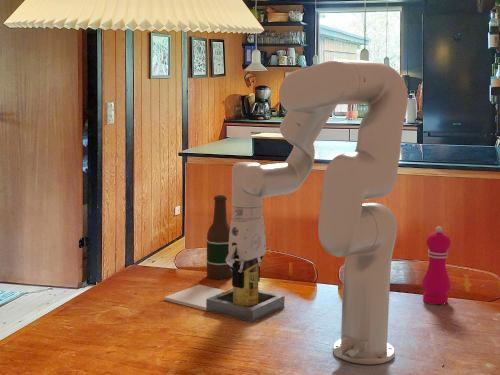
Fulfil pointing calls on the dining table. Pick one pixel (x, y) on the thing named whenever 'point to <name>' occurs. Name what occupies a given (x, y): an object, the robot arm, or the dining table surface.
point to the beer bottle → (218, 242)
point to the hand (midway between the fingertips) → (246, 283)
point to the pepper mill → (436, 269)
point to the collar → (251, 314)
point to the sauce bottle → (248, 285)
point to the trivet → (194, 296)
